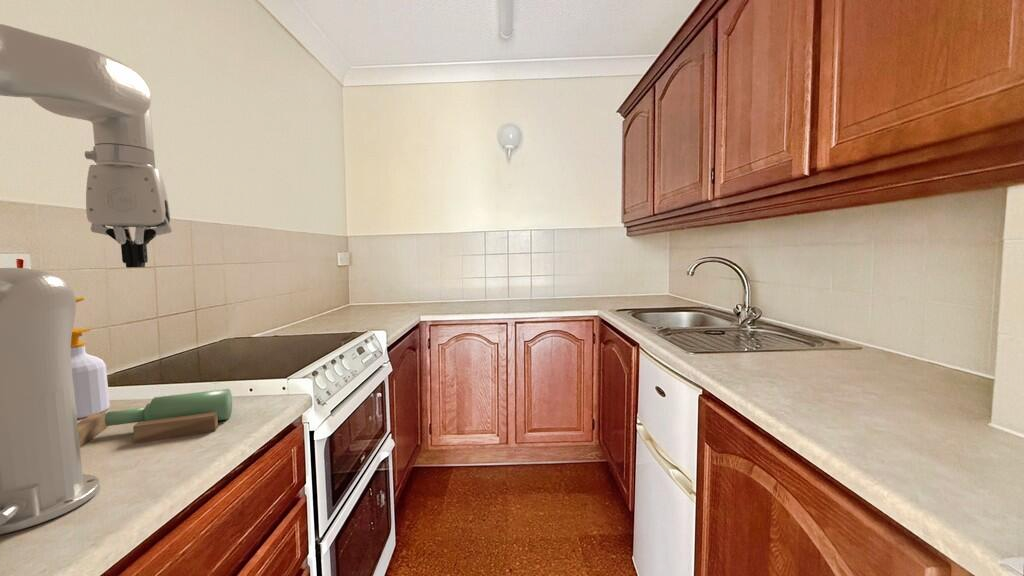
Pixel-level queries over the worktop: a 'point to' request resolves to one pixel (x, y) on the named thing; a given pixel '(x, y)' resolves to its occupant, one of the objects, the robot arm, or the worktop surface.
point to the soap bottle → (88, 378)
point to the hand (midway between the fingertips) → (135, 267)
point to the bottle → (176, 407)
